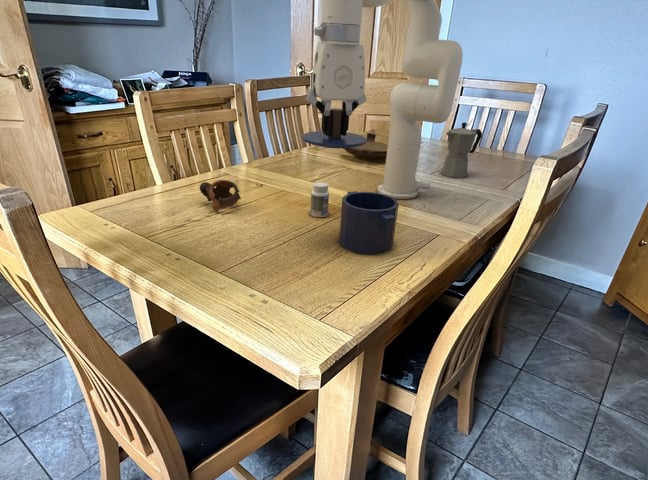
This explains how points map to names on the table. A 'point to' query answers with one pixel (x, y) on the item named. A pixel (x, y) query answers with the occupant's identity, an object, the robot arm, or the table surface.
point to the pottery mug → (220, 193)
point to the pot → (368, 222)
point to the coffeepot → (460, 150)
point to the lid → (334, 135)
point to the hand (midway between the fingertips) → (334, 133)
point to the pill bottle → (319, 199)
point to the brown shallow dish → (369, 148)
